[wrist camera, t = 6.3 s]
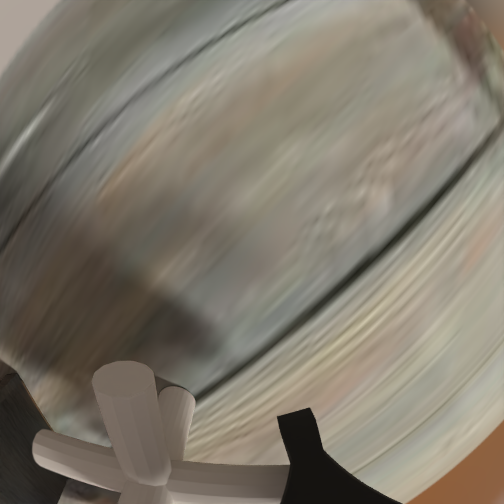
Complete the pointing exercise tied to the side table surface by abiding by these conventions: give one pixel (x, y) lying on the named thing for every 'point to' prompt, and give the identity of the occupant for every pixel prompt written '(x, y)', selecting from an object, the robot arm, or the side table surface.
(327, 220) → the side table surface
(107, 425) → the pipe connector
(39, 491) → the duct stub
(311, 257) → the side table surface
